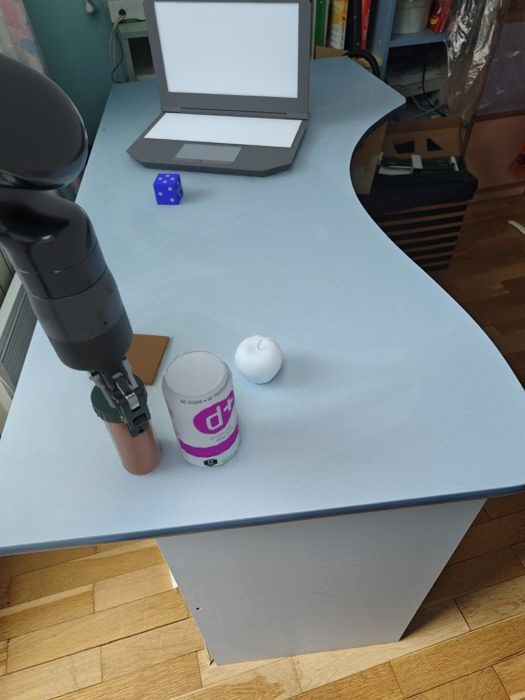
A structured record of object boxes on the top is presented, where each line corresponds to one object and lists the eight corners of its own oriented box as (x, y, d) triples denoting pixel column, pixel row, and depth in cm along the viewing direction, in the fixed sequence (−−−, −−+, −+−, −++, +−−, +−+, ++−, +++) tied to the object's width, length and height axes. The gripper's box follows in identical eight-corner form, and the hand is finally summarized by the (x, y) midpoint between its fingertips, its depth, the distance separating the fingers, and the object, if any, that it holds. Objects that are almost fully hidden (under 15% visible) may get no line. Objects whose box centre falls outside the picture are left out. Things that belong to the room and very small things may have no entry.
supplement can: (252, 448, 65) (244, 377, 54) (198, 481, 62) (179, 412, 51) (220, 409, 70) (208, 336, 59) (169, 437, 67) (146, 366, 56)
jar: (158, 475, 63) (137, 414, 53) (118, 474, 63) (90, 414, 53) (164, 440, 67) (146, 378, 57) (126, 440, 67) (101, 377, 57)
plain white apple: (261, 399, 71) (258, 363, 65) (227, 375, 74) (222, 338, 69) (292, 372, 74) (293, 335, 68) (259, 350, 78) (256, 313, 72)
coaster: (152, 385, 74) (151, 382, 73) (89, 380, 75) (88, 377, 74) (169, 338, 80) (169, 336, 80) (112, 334, 82) (111, 331, 81)
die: (183, 193, 113) (179, 173, 109) (178, 204, 109) (174, 184, 106) (162, 193, 113) (158, 173, 110) (157, 204, 110) (152, 184, 106)
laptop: (119, 169, 122) (78, 10, 98) (164, 119, 143) (139, -22, 119) (287, 182, 115) (287, 13, 90) (308, 127, 135) (313, -22, 111)
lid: (105, 379, 58) (101, 368, 57) (154, 384, 58) (151, 374, 56) (86, 420, 54) (81, 410, 53) (138, 426, 53) (134, 416, 52)
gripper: (154, 335, 43) (185, 437, 55) (88, 258, 51) (128, 363, 63) (73, 377, 40) (126, 475, 52) (17, 289, 48) (74, 392, 60)
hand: (127, 413), depth 58 cm, fingers closed on lid, 5 cm apart
